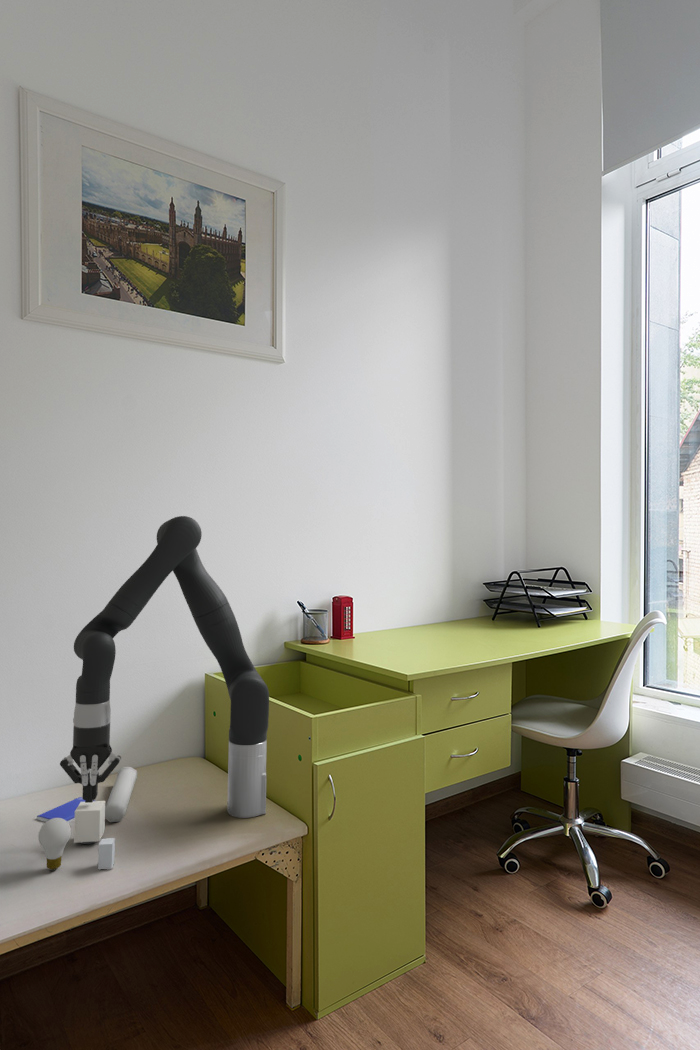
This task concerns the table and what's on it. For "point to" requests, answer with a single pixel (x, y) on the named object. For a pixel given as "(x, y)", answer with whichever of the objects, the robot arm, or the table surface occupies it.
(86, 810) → the off-white rectangular block
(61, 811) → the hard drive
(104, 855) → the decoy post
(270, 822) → the table surface
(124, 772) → the tube
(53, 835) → the light bulb
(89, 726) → the robot arm
